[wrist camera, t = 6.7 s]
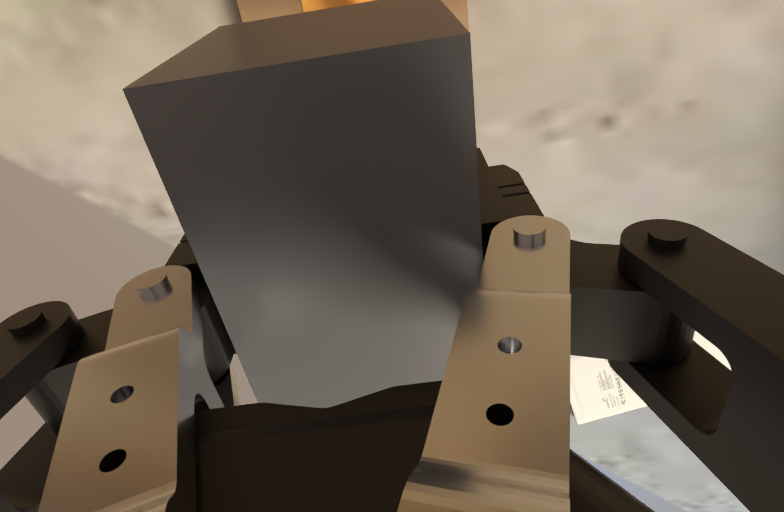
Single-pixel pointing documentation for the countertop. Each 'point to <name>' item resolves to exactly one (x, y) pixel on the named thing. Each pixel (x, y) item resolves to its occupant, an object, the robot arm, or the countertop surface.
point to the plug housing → (326, 190)
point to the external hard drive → (610, 386)
